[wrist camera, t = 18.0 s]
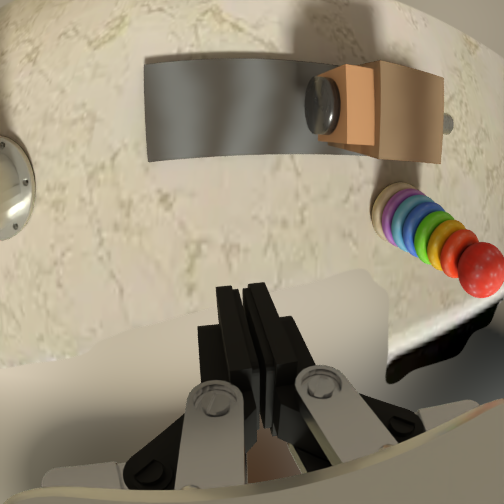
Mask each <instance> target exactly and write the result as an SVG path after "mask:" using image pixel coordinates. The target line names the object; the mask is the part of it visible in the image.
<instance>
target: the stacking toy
mask: <svg viewBox="0 0 504 504" xmlns="http://www.w3.org/2000/svg"><path fill="white" fill-rule="evenodd" d="M372 224H373V227H374V229H375V231H376V233H377V234H378V235H379V237H381V238H382V239H383V240H385V241H387V242H390V243H391V244H393V245H394V246H397V247H399V248H400V249H402V250H403V251H406V252H409V253H410V254H412V255H413V256H415V257H418V258H419V259H420V260H421V261H423V262H424V263H426V264H431V265H432V266H433V267H434V268H435V269H437V270H440V271H443V272H444V273H445V274H446V275H447V276H449V277H451V278H459V281H460V283H461V285H462V287H463V289H464V290H465V291H466V292H467V293H468V294H470V295H472V296H474V297H477V298H485V297H489V296H491V295H493V294H494V293H496V292H497V291H498V290H499V288H500V287H501V285H502V284H503V282H504V257H503V255H502V253H501V252H500V251H499V249H498V248H497V247H495V246H494V245H492V244H490V243H486V242H479V241H478V238H477V236H476V235H475V234H474V233H473V232H472V231H470V230H467V229H466V228H465V226H464V225H463V224H462V223H461V222H459V221H457V220H454V218H453V217H452V216H451V215H450V214H449V213H447V212H445V210H444V209H443V208H442V207H441V206H440V205H439V204H437V203H435V202H434V201H433V200H432V199H431V198H429V197H427V196H426V195H425V194H424V193H422V192H421V191H419V190H417V189H416V188H415V187H414V186H412V185H410V184H408V183H403V182H399V183H394V184H391V185H389V186H388V187H386V188H385V189H384V190H383V191H382V192H381V193H380V194H379V195H378V197H377V199H376V200H375V203H374V205H373V209H372Z"/></svg>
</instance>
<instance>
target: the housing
mask: <svg viewBox="0 0 504 504" xmlns="http://www.w3.org/2000/svg"><path fill="white" fill-rule="evenodd" d="M357 66H360V67H366V68H371V69H373V73H374V101H375V144H374V146H373V145H358V144H344V143H334V142H323V141H318V134H312V133H311V132H310V130H309V128H308V126H307V123H306V118H305V107H304V104H305V93H306V89H307V85H308V83H309V81H310V79H311V78H312V77H314V76H318V75H320V74H322V73H325V72H327V71H329V70H332V69H334V68H337V67H339V66H338V65H330V64H322V63H313V62H303V61H291V60H275V59H201V60H185V61H173V62H163V63H154V64H146V65H144V98H145V123H146V141H147V155H148V162H155V161H164V160H175V159H187V158H200V157H215V156H234V155H261V154H333V155H360V156H370V157H374V158H377V159H387V160H401V161H413V162H424V163H434V164H441V153H442V139H443V118H444V78H443V77H440V76H436V75H433V74H430V73H427V72H424V71H420V70H417V69H413V68H410V67H406V66H402V65H398V64H394V63H390V62H386V61H382V60H379V61H374V62H370V63H365V64H361V65H357Z"/></svg>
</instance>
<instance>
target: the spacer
mask: <svg viewBox="0 0 504 504" xmlns="http://www.w3.org/2000/svg"><path fill="white" fill-rule="evenodd" d="M318 76H320V77H329V78H332V79H333V80H334V81H335V82H336V84H337V86H338V89H339V93H340V100H341V110H340V117H339V121H338V125H337V127H336V129H335V130H334V132H333V133H332V134H330V135H318V141H323V142H334V143H344V144H358V145H373V146H374V144H375V101H374V73H373V69H371V68H366V67H360V66H355V65H348V64H344V65H342V66H339V67H337V68H334V69H332V70H329V71H327V72H325V73H322V74H320V75H318Z"/></svg>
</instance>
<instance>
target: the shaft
mask: <svg viewBox="0 0 504 504" xmlns="http://www.w3.org/2000/svg"><path fill="white" fill-rule="evenodd" d="M304 107H305V118H306V123H307V126H308V128H309V130H310V132H311V133H312V134H318V135H330V134H332V133H333V132H334V130H335V129H336V127H337V125H338V121H339V117H340V110H341V100H340V93H339V89H338V86H337V84H336V82H335V81H334V80H333V79H332V78H329V77H320V76H314V77H312V78H311V79H310V81H309V83H308V85H307V89H306V93H305V104H304ZM452 129H453V119H452V117H451V116H450V115H449V114H447V113H444V118H443V134H446V135H447V134H450V133H451V131H452Z"/></svg>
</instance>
